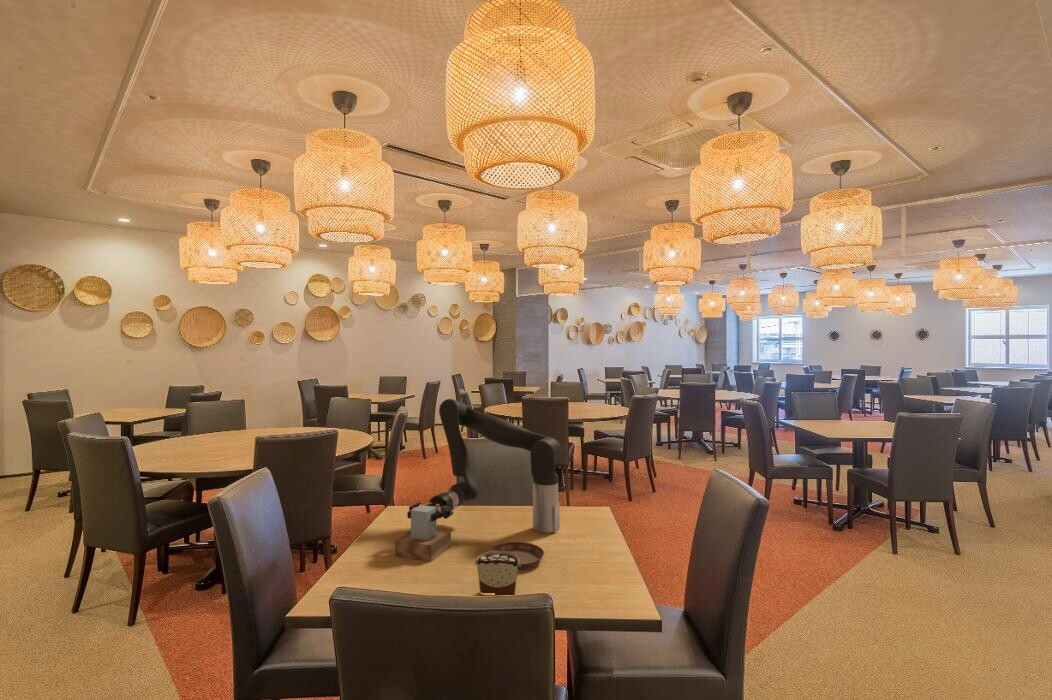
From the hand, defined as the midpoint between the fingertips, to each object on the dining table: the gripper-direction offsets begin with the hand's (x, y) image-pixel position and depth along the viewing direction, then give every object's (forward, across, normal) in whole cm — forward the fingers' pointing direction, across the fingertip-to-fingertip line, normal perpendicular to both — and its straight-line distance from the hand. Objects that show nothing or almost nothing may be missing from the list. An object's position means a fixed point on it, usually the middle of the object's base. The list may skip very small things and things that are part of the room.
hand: (420, 516), depth 173 cm
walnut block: (-2, 0, +12) cm, 12 cm away
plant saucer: (-5, +31, +12) cm, 34 cm away
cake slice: (+16, +34, +12) cm, 39 cm away
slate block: (-2, 0, +7) cm, 7 cm away
